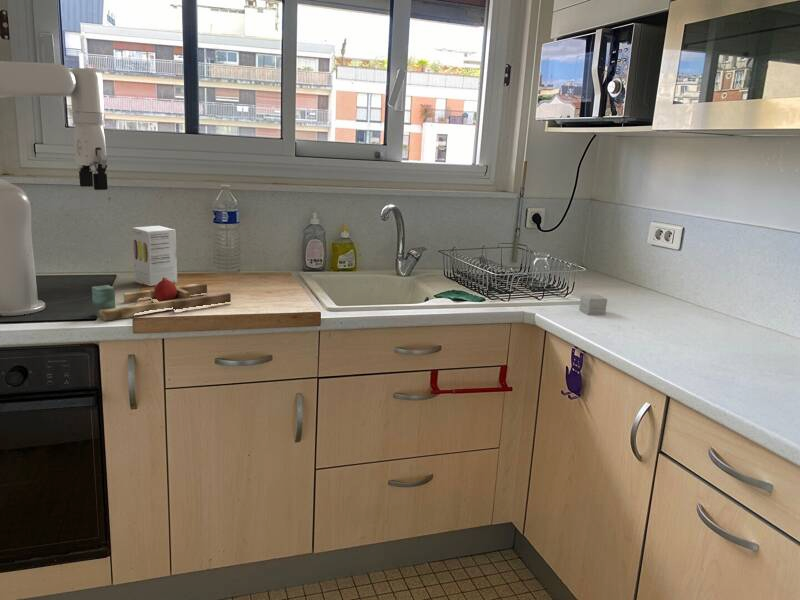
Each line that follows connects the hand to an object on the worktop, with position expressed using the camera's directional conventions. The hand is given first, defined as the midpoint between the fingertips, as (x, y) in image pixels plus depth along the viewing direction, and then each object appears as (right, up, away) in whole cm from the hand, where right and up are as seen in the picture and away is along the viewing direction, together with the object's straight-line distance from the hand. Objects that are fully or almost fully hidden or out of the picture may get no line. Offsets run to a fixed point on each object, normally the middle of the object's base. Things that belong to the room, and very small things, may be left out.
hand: (93, 188), depth 170 cm
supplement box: (+5, -24, +30) cm, 39 cm away
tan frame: (+13, -32, 0) cm, 34 cm away
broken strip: (+13, -29, +13) cm, 34 cm away
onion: (+17, -31, +5) cm, 36 cm away
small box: (+136, -33, +19) cm, 141 cm away
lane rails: (+23, -30, +9) cm, 39 cm away
